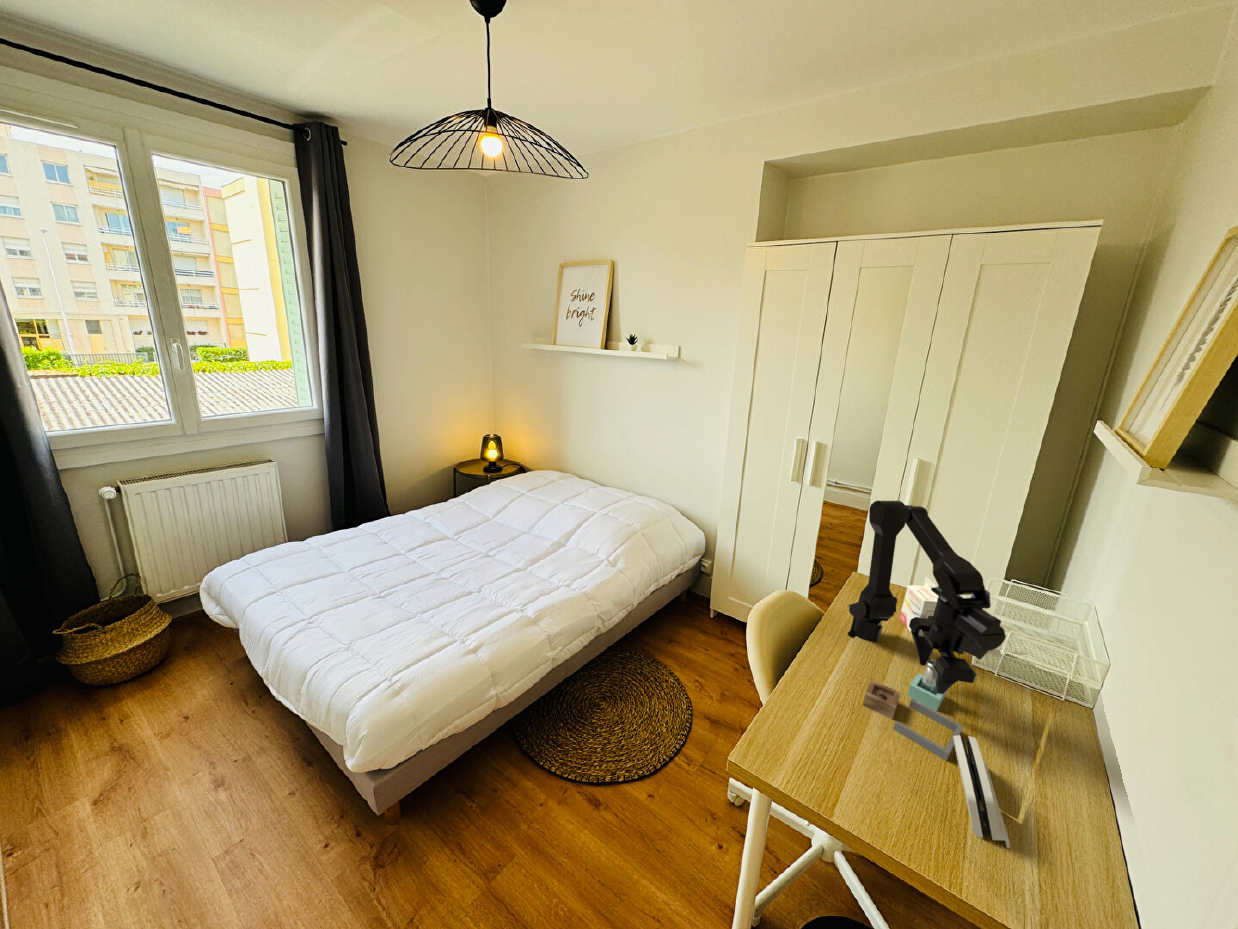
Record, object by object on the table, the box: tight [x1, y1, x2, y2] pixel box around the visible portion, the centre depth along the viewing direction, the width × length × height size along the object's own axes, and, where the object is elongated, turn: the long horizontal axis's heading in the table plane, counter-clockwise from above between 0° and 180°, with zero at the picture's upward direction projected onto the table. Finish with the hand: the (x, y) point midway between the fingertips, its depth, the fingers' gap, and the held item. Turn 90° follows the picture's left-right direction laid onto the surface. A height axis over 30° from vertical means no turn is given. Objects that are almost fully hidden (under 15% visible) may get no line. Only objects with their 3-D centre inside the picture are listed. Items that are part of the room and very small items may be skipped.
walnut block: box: [862, 679, 901, 720], centre depth 107 cm, size 6×6×4 cm
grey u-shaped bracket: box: [892, 698, 964, 762], centre depth 101 cm, size 10×11×2 cm
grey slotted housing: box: [952, 734, 1011, 849], centre depth 86 cm, size 17×5×10 cm, turn 154°
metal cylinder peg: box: [921, 658, 936, 694], centre depth 109 cm, size 3×3×9 cm
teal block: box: [906, 672, 947, 712], centre depth 110 cm, size 6×6×4 cm
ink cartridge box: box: [898, 576, 938, 633], centre depth 135 cm, size 9×5×15 cm, turn 179°
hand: (930, 678), depth 109 cm, fingers open, 9 cm apart
